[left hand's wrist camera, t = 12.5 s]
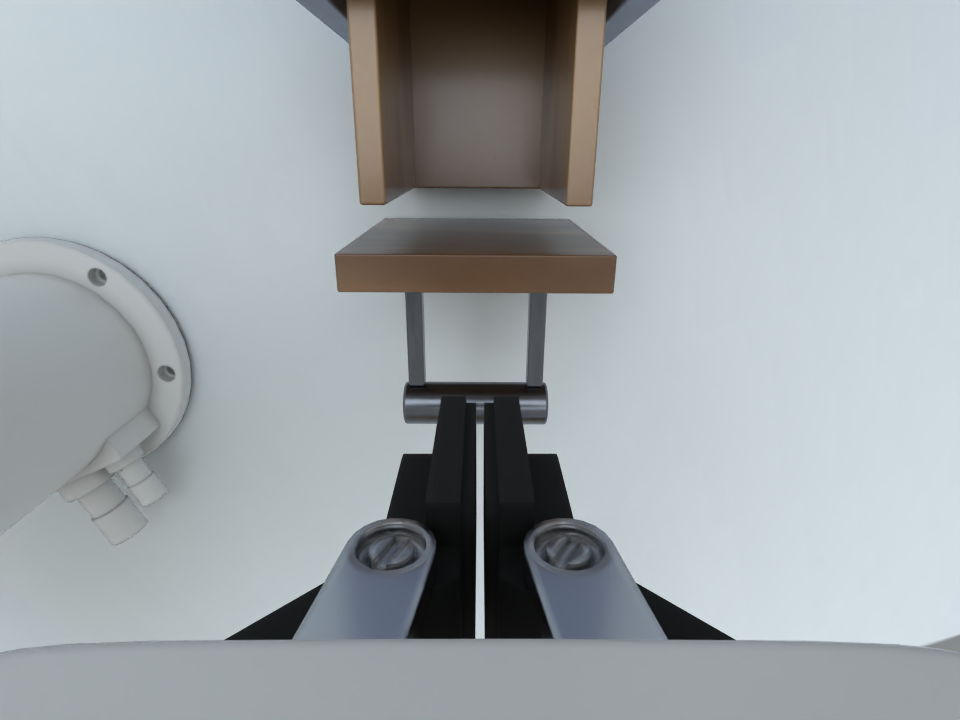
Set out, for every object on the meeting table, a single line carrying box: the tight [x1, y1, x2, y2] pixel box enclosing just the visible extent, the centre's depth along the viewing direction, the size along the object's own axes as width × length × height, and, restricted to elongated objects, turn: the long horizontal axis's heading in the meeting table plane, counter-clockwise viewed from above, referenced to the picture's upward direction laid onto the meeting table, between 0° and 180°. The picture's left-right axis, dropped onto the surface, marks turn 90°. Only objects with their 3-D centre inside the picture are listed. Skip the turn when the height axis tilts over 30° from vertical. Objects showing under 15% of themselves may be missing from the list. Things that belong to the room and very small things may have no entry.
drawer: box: [335, 0, 617, 424], centre depth 20 cm, size 25×9×10 cm, turn 0°
